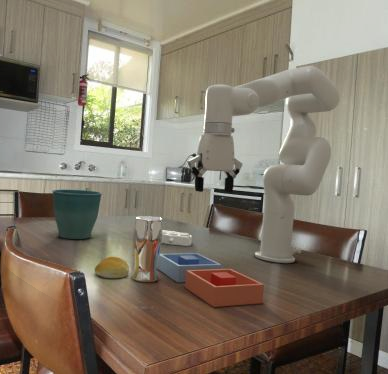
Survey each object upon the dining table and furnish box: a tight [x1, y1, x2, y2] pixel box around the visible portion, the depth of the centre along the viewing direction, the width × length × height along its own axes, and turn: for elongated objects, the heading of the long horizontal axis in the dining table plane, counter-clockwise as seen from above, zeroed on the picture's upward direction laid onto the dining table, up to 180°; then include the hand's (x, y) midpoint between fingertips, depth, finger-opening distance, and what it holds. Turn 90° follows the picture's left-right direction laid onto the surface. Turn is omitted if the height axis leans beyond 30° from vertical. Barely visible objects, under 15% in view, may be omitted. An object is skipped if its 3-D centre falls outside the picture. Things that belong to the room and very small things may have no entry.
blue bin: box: [157, 252, 223, 283], centre depth 97 cm, size 12×12×4 cm
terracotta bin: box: [184, 268, 265, 308], centre depth 83 cm, size 12×12×4 cm
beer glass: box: [132, 215, 163, 283], centre depth 91 cm, size 7×7×15 cm
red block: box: [210, 272, 236, 286], centre depth 82 cm, size 4×4×4 cm
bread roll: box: [94, 256, 130, 279], centre depth 93 cm, size 8×9×4 cm
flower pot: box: [51, 189, 103, 240], centre depth 137 cm, size 18×18×17 cm
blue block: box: [178, 255, 199, 265], centre depth 97 cm, size 4×4×4 cm
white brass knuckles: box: [161, 229, 193, 247], centre depth 142 cm, size 3×18×15 cm
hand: (214, 191), depth 105 cm, fingers open, 9 cm apart
